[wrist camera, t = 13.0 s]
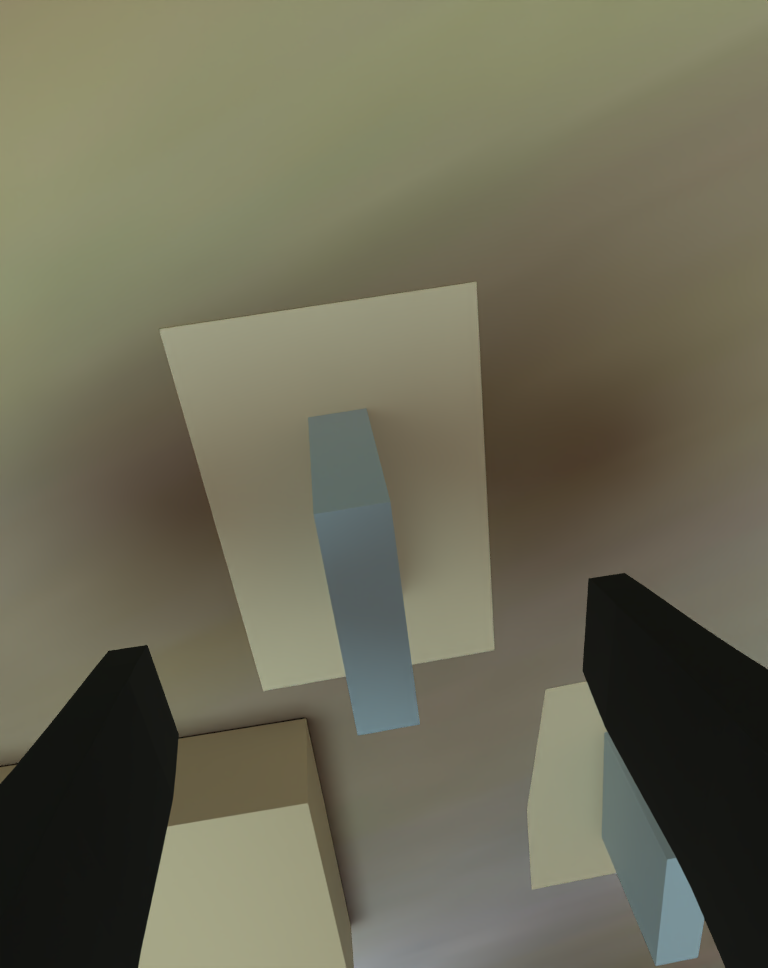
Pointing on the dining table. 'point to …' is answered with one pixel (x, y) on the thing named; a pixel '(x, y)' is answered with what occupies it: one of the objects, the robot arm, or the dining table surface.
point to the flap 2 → (604, 825)
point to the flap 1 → (347, 486)
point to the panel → (247, 858)
